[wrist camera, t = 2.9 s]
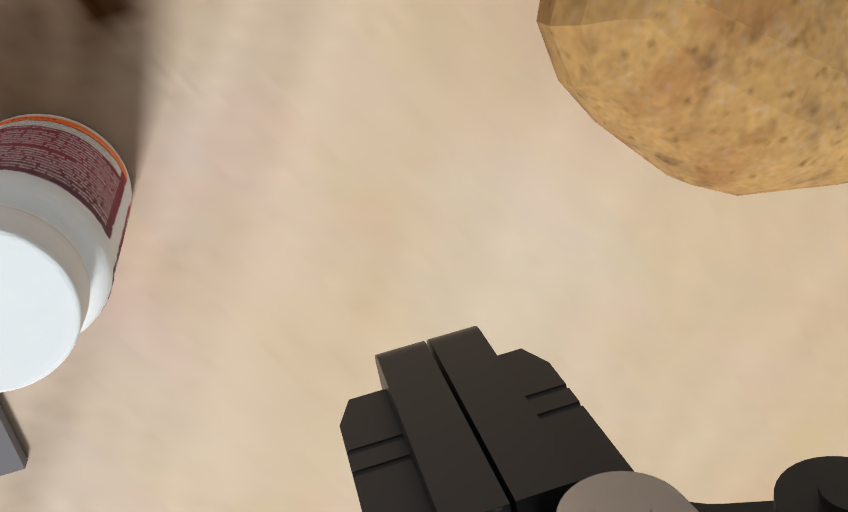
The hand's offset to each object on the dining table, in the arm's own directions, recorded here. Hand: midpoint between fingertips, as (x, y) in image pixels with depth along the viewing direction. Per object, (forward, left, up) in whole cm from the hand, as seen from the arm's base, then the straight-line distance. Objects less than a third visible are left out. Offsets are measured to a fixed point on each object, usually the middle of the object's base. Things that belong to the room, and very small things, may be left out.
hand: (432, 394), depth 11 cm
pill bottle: (0, -8, -16) cm, 18 cm away
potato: (-1, +13, -16) cm, 20 cm away
